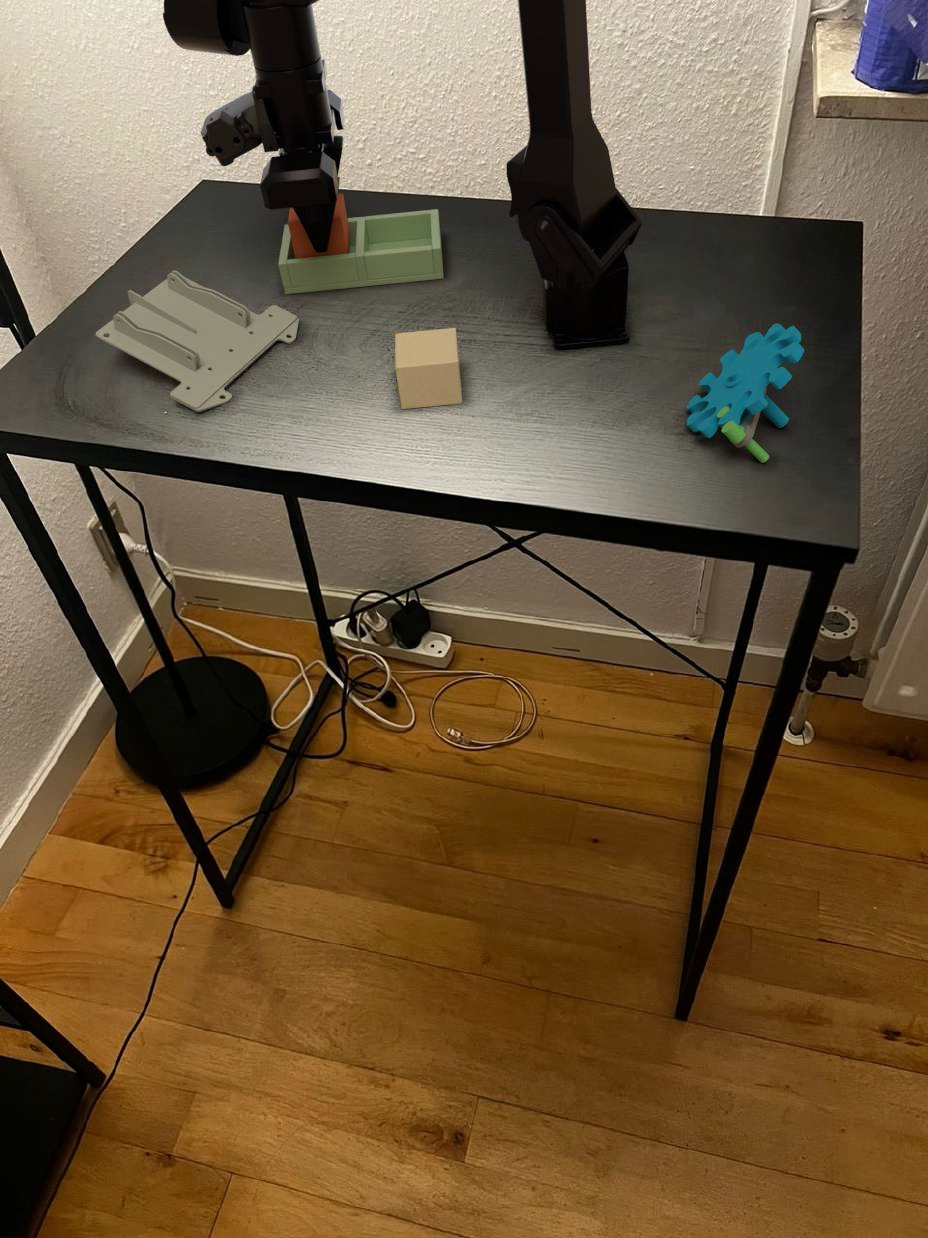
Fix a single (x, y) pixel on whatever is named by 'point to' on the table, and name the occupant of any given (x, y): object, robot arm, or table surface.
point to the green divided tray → (370, 255)
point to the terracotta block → (337, 236)
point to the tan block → (428, 368)
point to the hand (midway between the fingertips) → (323, 237)
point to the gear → (746, 388)
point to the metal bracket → (196, 337)
